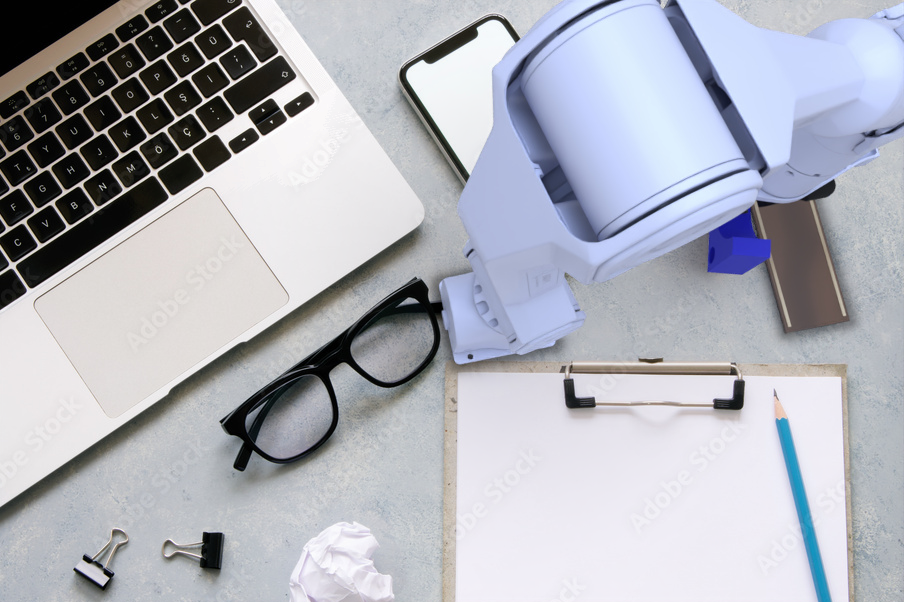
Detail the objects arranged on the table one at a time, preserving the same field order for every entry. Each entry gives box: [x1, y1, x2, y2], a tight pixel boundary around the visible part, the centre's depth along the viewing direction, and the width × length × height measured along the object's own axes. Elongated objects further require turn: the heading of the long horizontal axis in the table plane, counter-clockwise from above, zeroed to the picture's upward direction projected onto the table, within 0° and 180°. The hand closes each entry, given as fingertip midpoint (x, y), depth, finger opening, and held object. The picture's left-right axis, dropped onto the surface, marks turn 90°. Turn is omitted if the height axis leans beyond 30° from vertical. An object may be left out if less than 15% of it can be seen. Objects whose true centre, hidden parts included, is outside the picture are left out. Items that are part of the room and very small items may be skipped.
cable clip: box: [707, 207, 771, 276], centre depth 65 cm, size 12×4×6 cm, turn 174°
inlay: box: [751, 200, 851, 334], centre depth 70 cm, size 6×14×1 cm, turn 11°
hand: (732, 201), depth 66 cm, fingers closed on cable clip, 4 cm apart
